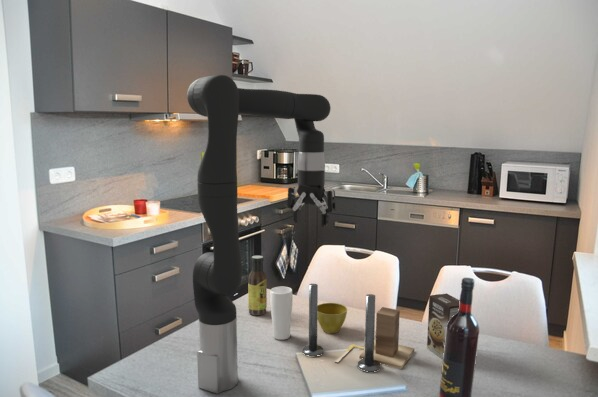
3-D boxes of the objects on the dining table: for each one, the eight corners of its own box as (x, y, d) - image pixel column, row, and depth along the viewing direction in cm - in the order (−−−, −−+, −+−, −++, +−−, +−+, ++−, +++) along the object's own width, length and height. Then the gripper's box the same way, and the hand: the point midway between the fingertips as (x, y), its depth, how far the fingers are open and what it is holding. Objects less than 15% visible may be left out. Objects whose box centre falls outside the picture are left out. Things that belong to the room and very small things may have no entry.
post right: (375, 374, 124) (377, 301, 121) (354, 368, 127) (355, 297, 124) (383, 364, 130) (385, 294, 126) (362, 359, 132) (364, 290, 129)
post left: (317, 359, 133) (318, 290, 129) (298, 353, 136) (298, 286, 132) (327, 350, 138) (327, 283, 135) (308, 345, 141) (309, 280, 138)
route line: (351, 367, 128) (351, 366, 128) (334, 362, 131) (334, 361, 131) (367, 349, 139) (367, 348, 138) (351, 345, 141) (352, 344, 141)
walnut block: (392, 357, 132) (393, 316, 130) (375, 353, 134) (376, 312, 132) (398, 350, 136) (399, 310, 134) (381, 346, 138) (382, 306, 137)
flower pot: (319, 321, 158) (319, 301, 156) (349, 325, 155) (349, 304, 154) (311, 334, 148) (311, 312, 147) (343, 338, 145) (343, 316, 144)
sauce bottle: (262, 317, 161) (262, 260, 158) (245, 315, 163) (244, 258, 160) (269, 310, 167) (268, 255, 164) (252, 308, 169) (251, 253, 166)
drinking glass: (293, 332, 149) (293, 286, 147) (291, 342, 143) (291, 294, 140) (272, 331, 150) (271, 285, 148) (268, 341, 143) (268, 293, 141)
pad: (401, 369, 127) (401, 366, 127) (359, 358, 133) (359, 355, 133) (414, 350, 137) (414, 348, 137) (374, 341, 143) (374, 339, 143)
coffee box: (425, 348, 139) (428, 295, 137) (444, 344, 141) (446, 292, 139) (445, 362, 131) (448, 306, 128) (464, 358, 133) (468, 303, 131)
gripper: (282, 168, 134) (282, 224, 136) (328, 170, 127) (327, 230, 129) (295, 166, 140) (295, 220, 143) (340, 168, 133) (339, 225, 136)
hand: (310, 225), depth 136 cm, fingers open, 8 cm apart
